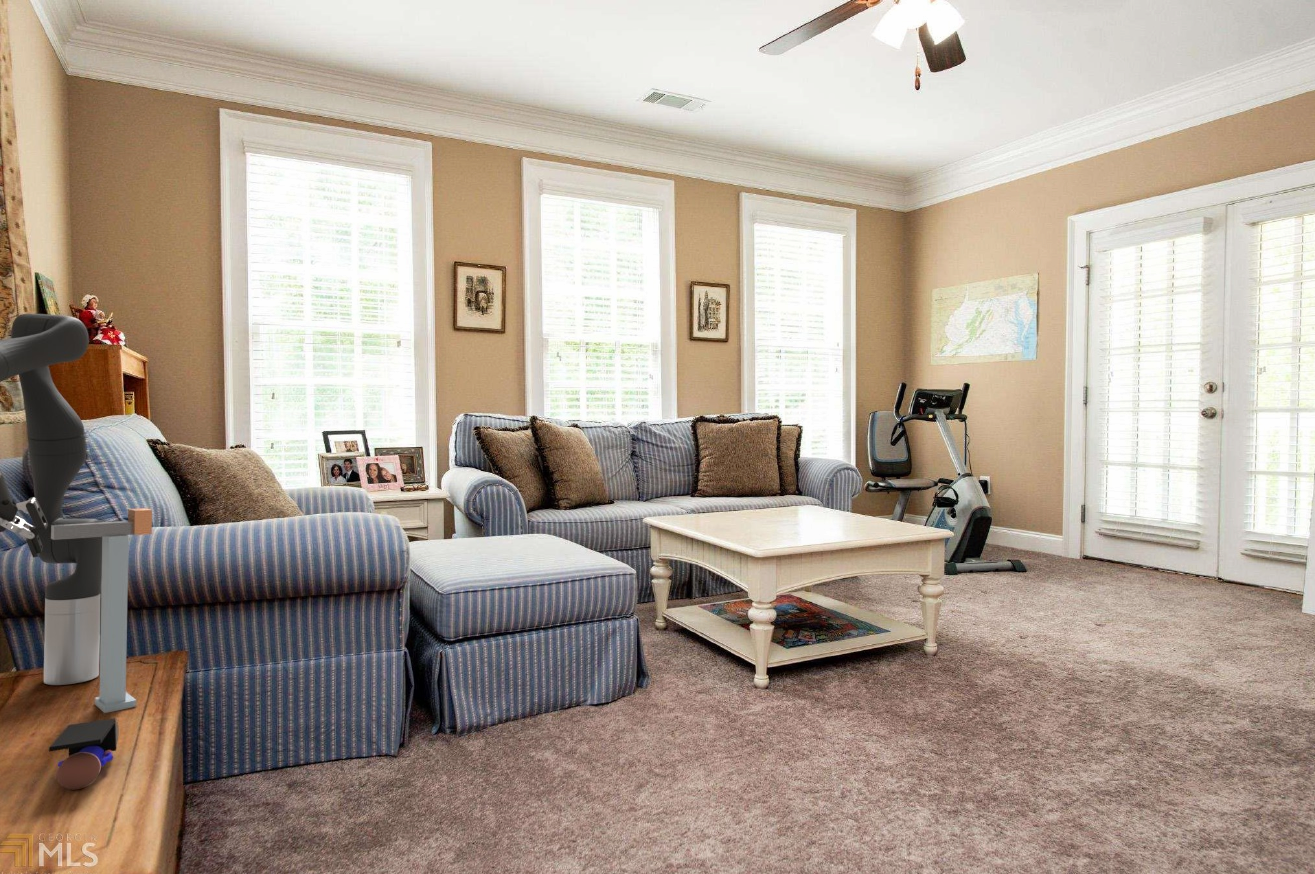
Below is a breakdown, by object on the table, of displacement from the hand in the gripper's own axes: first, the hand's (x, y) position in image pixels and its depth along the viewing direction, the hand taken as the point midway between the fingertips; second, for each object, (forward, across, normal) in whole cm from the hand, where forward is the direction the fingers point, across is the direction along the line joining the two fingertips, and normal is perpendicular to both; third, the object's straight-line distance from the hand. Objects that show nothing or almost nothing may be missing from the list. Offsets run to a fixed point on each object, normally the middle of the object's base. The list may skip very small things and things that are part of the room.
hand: (7, 562), depth 137 cm
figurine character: (+21, -11, +38) cm, 45 cm away
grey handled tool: (+1, -13, -4) cm, 14 cm away
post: (+31, -8, +6) cm, 32 cm away
